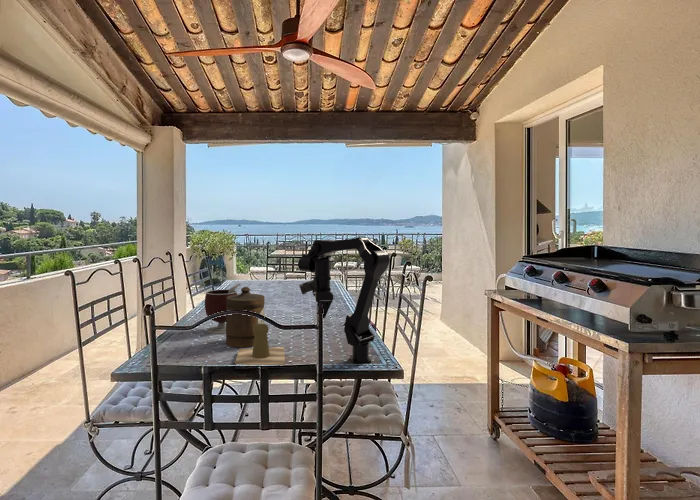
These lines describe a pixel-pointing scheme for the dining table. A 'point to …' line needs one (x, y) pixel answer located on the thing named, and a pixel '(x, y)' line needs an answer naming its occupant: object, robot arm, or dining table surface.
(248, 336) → the wooden container
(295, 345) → the dining table surface
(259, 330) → the cork
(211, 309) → the mate gourd
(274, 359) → the serving board
